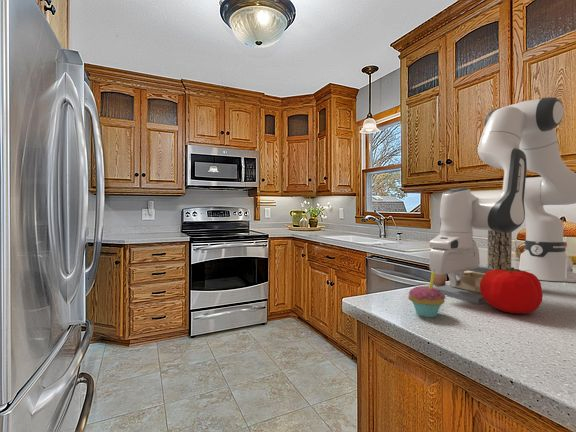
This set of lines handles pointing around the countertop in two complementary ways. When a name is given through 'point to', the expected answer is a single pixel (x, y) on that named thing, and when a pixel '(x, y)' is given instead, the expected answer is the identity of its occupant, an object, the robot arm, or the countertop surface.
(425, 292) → the cupcake
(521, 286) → the tomato
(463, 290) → the slate track
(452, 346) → the countertop surface
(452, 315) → the countertop surface
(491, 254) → the wooden log
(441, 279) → the dowel
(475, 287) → the square wooden frame
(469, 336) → the countertop surface
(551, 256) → the robot arm
